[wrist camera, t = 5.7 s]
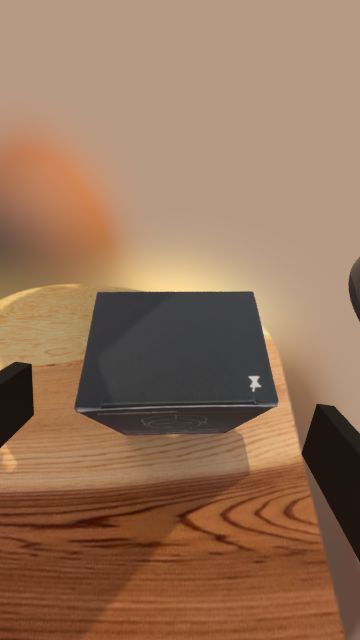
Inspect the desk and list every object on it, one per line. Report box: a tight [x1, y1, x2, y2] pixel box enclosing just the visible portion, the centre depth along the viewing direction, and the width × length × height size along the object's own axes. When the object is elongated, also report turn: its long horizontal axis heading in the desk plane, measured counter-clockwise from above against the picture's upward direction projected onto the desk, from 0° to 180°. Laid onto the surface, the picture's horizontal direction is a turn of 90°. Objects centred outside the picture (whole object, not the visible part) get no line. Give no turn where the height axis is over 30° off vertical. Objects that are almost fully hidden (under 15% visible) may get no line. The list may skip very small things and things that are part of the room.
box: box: [75, 292, 278, 435], centre depth 15 cm, size 8×6×11 cm
